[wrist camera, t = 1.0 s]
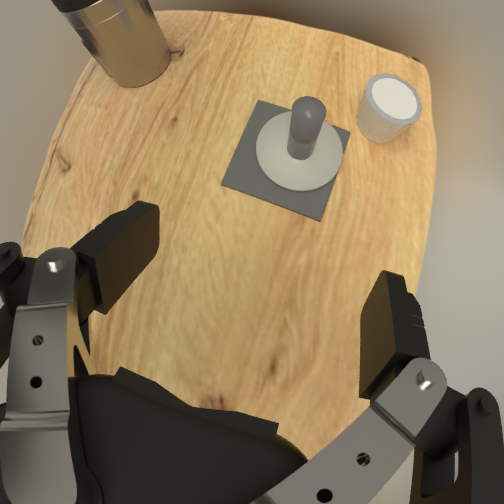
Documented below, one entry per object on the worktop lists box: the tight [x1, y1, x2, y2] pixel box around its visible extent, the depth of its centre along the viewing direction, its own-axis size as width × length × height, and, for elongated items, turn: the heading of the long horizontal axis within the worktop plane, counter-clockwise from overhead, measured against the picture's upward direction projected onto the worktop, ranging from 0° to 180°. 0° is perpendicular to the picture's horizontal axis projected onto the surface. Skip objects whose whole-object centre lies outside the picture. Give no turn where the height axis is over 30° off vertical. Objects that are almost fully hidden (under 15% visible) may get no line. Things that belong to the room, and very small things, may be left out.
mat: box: [221, 100, 350, 222], centre depth 35 cm, size 12×12×1 cm
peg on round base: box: [256, 96, 343, 192], centre depth 30 cm, size 10×10×10 cm
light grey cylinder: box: [356, 73, 422, 144], centre depth 32 cm, size 7×7×7 cm
